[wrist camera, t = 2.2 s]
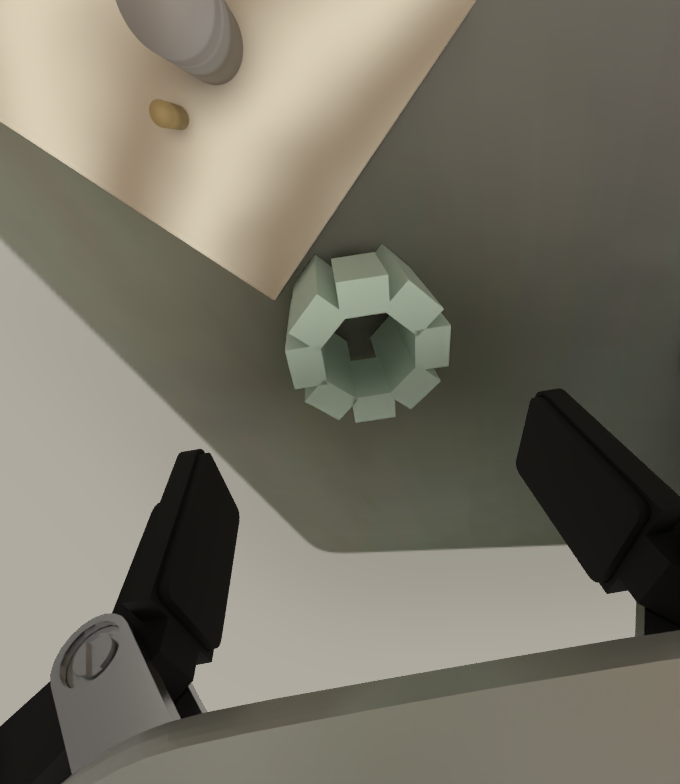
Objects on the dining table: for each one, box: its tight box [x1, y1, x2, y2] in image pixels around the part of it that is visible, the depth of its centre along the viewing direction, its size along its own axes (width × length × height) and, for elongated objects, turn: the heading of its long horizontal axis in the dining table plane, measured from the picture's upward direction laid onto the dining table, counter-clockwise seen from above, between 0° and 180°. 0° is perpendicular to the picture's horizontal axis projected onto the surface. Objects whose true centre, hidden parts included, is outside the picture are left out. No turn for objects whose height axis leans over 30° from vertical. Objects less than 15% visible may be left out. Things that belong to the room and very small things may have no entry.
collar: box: [285, 244, 451, 423], centre depth 18 cm, size 7×7×6 cm
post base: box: [0, 0, 476, 301], centre depth 11 cm, size 14×14×6 cm
